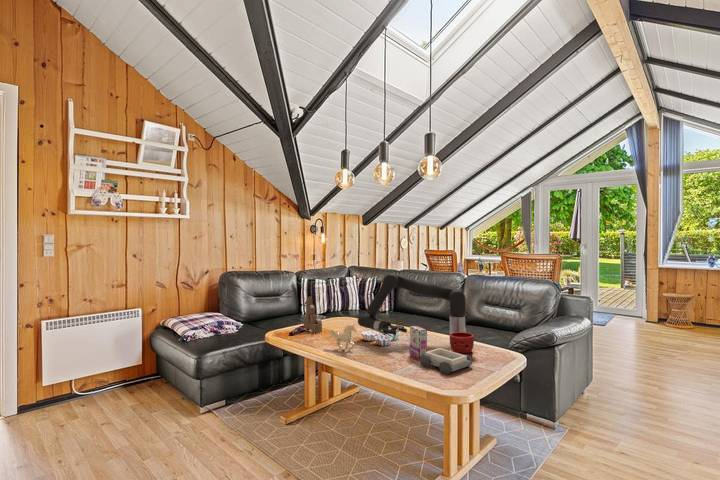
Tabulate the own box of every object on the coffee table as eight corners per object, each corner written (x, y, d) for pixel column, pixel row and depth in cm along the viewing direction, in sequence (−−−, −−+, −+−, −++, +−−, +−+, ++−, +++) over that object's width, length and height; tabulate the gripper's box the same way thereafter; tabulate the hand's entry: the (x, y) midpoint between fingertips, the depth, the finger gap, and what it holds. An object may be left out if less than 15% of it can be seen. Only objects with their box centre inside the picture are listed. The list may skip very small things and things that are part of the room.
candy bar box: (427, 360, 206) (427, 329, 206) (419, 361, 205) (419, 330, 204) (417, 354, 217) (417, 325, 217) (409, 355, 215) (409, 326, 215)
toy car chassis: (442, 358, 209) (442, 346, 209) (473, 368, 193) (473, 355, 193) (419, 365, 198) (419, 352, 198) (450, 376, 182) (450, 362, 182)
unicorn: (327, 348, 230) (327, 319, 229) (331, 346, 233) (331, 318, 233) (355, 353, 219) (354, 323, 218) (358, 351, 222) (358, 322, 222)
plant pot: (476, 354, 216) (476, 333, 216) (470, 360, 204) (470, 338, 204) (453, 350, 222) (453, 330, 222) (446, 357, 211) (446, 335, 211)
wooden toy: (322, 332, 267) (322, 296, 267) (314, 334, 263) (314, 297, 262) (309, 328, 279) (309, 294, 278) (302, 330, 274) (301, 295, 274)
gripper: (373, 322, 229) (392, 327, 216) (391, 318, 238) (409, 323, 225) (373, 334, 229) (392, 340, 217) (391, 330, 238) (409, 336, 225)
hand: (401, 332), depth 221 cm, fingers open, 8 cm apart
